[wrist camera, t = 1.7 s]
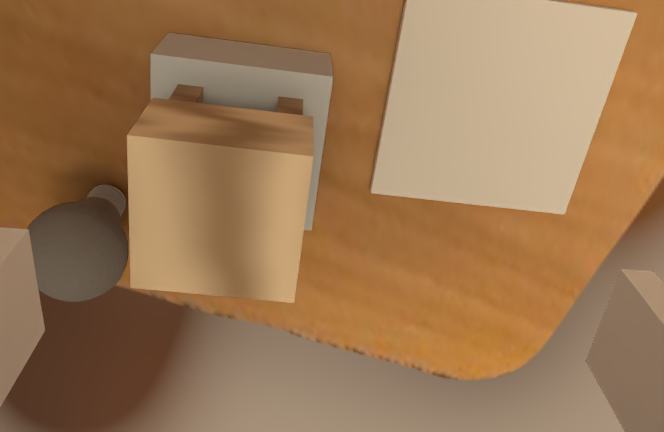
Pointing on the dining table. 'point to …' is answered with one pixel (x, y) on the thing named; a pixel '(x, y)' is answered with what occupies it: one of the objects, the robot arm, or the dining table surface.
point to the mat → (496, 100)
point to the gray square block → (248, 81)
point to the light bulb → (80, 246)
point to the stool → (218, 196)
